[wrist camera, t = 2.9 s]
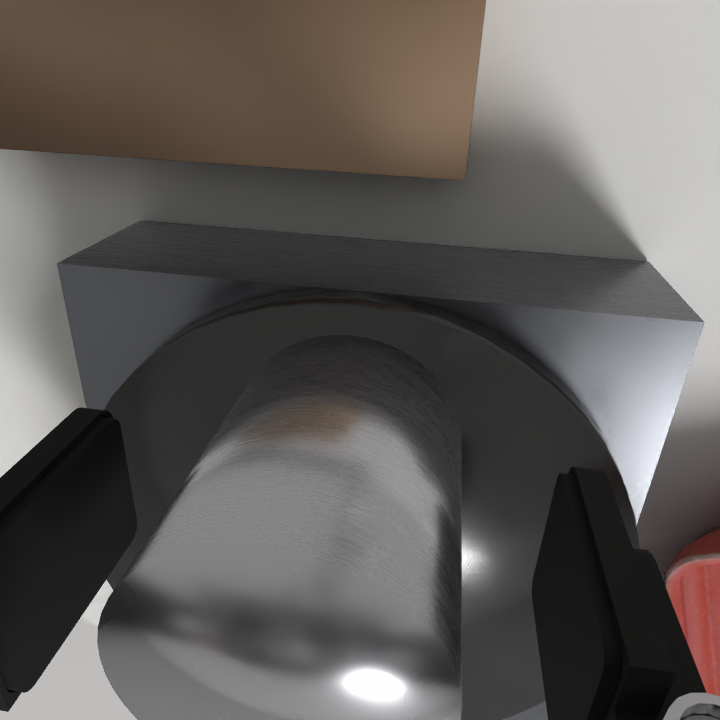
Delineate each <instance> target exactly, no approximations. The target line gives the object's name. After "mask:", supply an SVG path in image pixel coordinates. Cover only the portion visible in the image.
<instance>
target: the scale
mask: <svg viewBox="0 0 720 720" xmlns="http://www.w3.org/2000/svg"><path fill="white" fill-rule="evenodd" d="M57 265H58V270H59V275H60V280H61V285H62V290H63V294H64V299H65V304H66V309H67V314H68V319H69V324H70V329H71V334H72V339H73V344H74V349H75V354H76V359H77V364H78V368H79V373H80V378H81V383H82V388H83V393H84V398H85V403H86V408H90V409H99V410H107V411H109V412H110V413H111V414H112V415H113V419H117V420H118V421H119V422H120V425H121V431H122V436H123V442H124V448H125V454H126V460H127V465H128V471H129V477H130V483H131V488H132V494H133V500H134V506H135V511H136V517H137V530H136V534H135V537H134V539H133V541H132V542H131V544H130V545H129V547H128V548H127V550H126V551H125V553H124V554H123V556H122V557H121V558H120V560H119V561H118V563H117V564H116V566H115V567H114V569H113V570H112V572H111V573H110V575H109V576H108V578H107V581H108V582H109V584H110V586H111V587H112V589H113V590H114V589H115V588H116V586H117V585H118V583H119V581H120V580H121V578H122V577H123V575H124V574H125V572H126V571H127V569H128V568H129V566H130V565H131V563H132V561H133V560H134V558H135V557H136V555H137V554H138V552H139V551H140V549H141V548H142V546H143V545H144V543H145V541H146V540H147V538H148V537H149V535H150V534H151V532H152V531H153V529H154V528H155V526H156V525H157V523H158V521H159V520H160V518H161V517H162V515H163V514H164V512H165V511H166V509H167V508H168V506H169V505H170V503H171V502H172V500H173V498H174V497H175V495H176V494H177V492H178V491H179V489H180V488H181V486H182V485H183V483H184V482H185V480H186V478H187V477H188V475H189V474H190V472H191V471H192V469H193V468H194V466H195V465H196V463H197V462H198V460H199V458H200V457H201V455H202V454H203V452H204V451H205V449H206V448H207V446H208V445H209V443H210V442H211V440H212V438H213V437H214V435H215V434H216V432H217V431H218V429H219V428H220V426H221V425H222V423H223V422H224V420H225V419H226V417H227V415H228V414H229V412H230V411H231V409H232V408H233V406H234V405H235V403H236V402H237V400H238V399H239V397H240V395H241V394H242V392H243V391H244V389H245V388H246V386H247V385H248V383H249V382H250V380H251V379H252V377H253V376H254V374H255V373H256V372H257V370H258V369H259V368H260V367H261V366H262V365H263V364H264V363H265V362H266V361H267V360H268V359H269V358H270V357H272V356H273V355H275V354H276V353H277V352H279V351H280V350H282V349H284V348H286V347H288V346H290V345H292V344H294V343H297V342H300V341H303V340H306V339H310V338H315V337H319V336H329V335H351V336H358V337H364V338H369V339H373V340H376V341H380V342H383V343H385V344H388V345H390V346H393V347H395V348H397V349H399V350H401V351H403V352H405V353H406V354H408V355H410V356H412V357H413V358H414V359H416V360H417V361H418V362H420V363H421V364H423V365H424V366H425V367H426V368H427V369H428V370H429V371H430V372H431V373H432V374H433V375H434V376H435V377H436V378H437V379H438V380H439V382H440V383H441V384H442V385H443V387H444V388H445V390H446V391H447V393H448V395H449V396H450V398H451V400H452V402H453V404H454V407H455V409H456V411H457V414H458V418H459V422H460V428H461V452H462V710H461V720H548V715H547V708H546V700H545V693H544V685H543V678H542V670H541V663H540V655H539V647H538V640H537V632H536V625H535V617H534V610H533V602H532V581H533V576H534V571H535V567H536V563H537V559H538V555H539V551H540V546H541V542H542V538H543V534H544V530H545V526H546V521H547V517H548V513H549V509H550V505H551V501H552V497H553V492H554V488H555V484H556V480H557V477H558V475H559V473H564V474H568V472H569V470H570V468H571V467H581V468H589V469H598V470H604V471H605V472H606V474H607V476H608V479H609V482H610V485H611V488H612V491H613V493H614V496H615V499H616V502H617V505H618V508H619V510H620V513H621V516H622V519H623V522H624V525H625V527H626V530H627V533H628V536H629V539H630V542H631V544H632V547H633V548H634V549H639V543H638V535H637V527H636V526H637V523H638V520H639V517H640V514H641V511H642V508H643V505H644V502H645V499H646V496H647V493H648V490H649V487H650V484H651V481H652V478H653V475H654V472H655V469H656V466H657V463H658V460H659V457H660V454H661V451H662V448H663V445H664V442H665V439H666V436H667V433H668V430H669V427H670V424H671V421H672V418H673V415H674V412H675V409H676V406H677V403H678V400H679V397H680V394H681V391H682V388H683V385H684V382H685V379H686V376H687V373H688V370H689V367H690V364H691V361H692V358H693V355H694V352H695V349H696V346H697V343H698V340H699V337H700V334H701V331H702V328H703V325H704V321H703V320H702V319H701V318H700V317H699V316H698V315H697V314H696V313H695V312H694V311H693V309H692V308H691V307H690V306H689V305H688V304H687V303H686V302H685V301H684V300H683V299H682V297H681V296H680V295H679V294H678V293H677V292H676V291H675V290H674V289H673V288H672V287H671V285H670V284H669V283H668V282H667V281H666V280H665V279H664V278H663V277H662V276H661V275H660V273H659V272H658V271H657V270H656V269H655V268H654V267H653V266H652V265H651V264H650V263H649V262H644V261H632V260H619V259H607V258H595V257H582V256H570V255H558V254H545V253H533V252H521V251H508V250H496V249H484V248H471V247H459V246H447V245H434V244H422V243H409V242H397V241H385V240H372V239H360V238H348V237H335V236H323V235H311V234H298V233H286V232H274V231H261V230H249V229H237V228H224V227H212V226H199V225H187V224H175V223H162V222H150V221H139V222H137V223H135V224H133V225H131V226H129V227H127V228H125V229H123V230H121V231H119V232H117V233H116V234H114V235H112V236H110V237H108V238H106V239H104V240H102V241H100V242H98V243H96V244H94V245H92V246H90V247H88V248H86V249H84V250H82V251H80V252H78V253H76V254H74V255H72V256H70V257H69V258H67V259H65V260H63V261H61V262H59V263H57Z"/></svg>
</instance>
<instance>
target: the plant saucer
mask: <svg viewBox="0 0 720 720" xmlns="http://www.w3.org/2000/svg"><path fill="white" fill-rule="evenodd" d="M665 587H666V589H667V592H668V594H669V597H670V600H671V602H672V605H673V607H674V610H675V612H676V615H677V618H678V620H679V623H680V625H681V628H682V630H683V633H684V636H685V638H686V641H687V643H688V646H689V648H690V651H691V654H692V656H693V659H694V661H695V664H696V666H697V669H698V672H699V674H700V677H701V679H702V682H703V684H704V687H705V690H706V692H707V693H709V694H713V695H716V696H720V529H718V530H714V531H712V532H710V533H707V534H705V535H704V536H702V537H700V538H698V539H697V540H695V541H693V542H692V543H690V544H689V545H687V546H686V547H685V548H684V549H683V550H682V551H681V552H680V553H679V554H678V555H677V556H676V558H675V559H674V561H673V563H672V564H671V566H670V567H669V569H668V572H667V574H666V577H665Z"/></svg>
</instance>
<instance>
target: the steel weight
mask: <svg viewBox="0 0 720 720" xmlns="http://www.w3.org/2000/svg"><path fill="white" fill-rule="evenodd" d="M98 648H99V655H100V660H101V662H102V665H103V668H104V671H105V674H106V676H107V678H108V680H109V682H110V684H111V686H112V687H113V689H114V691H115V692H116V694H117V695H118V697H119V698H120V699H121V701H122V702H123V704H124V705H125V706H126V707H127V708H128V709H129V711H130V712H131V713H132V714H133V715H134V716H135V717H136V718H137V719H138V720H461V710H462V452H461V428H460V422H459V418H458V414H457V411H456V409H455V407H454V404H453V402H452V400H451V398H450V396H449V395H448V393H447V391H446V390H445V388H444V387H443V385H442V384H441V383H440V382H439V380H438V379H437V378H436V377H435V376H434V375H433V374H432V373H431V372H430V371H429V370H428V369H427V368H426V367H425V366H424V365H423V364H421V363H420V362H418V361H417V360H416V359H414V358H413V357H412V356H410V355H408V354H406V353H405V352H403V351H401V350H399V349H397V348H395V347H393V346H390V345H388V344H385V343H383V342H380V341H376V340H373V339H369V338H364V337H358V336H351V335H329V336H319V337H315V338H310V339H306V340H303V341H300V342H297V343H294V344H292V345H290V346H288V347H286V348H284V349H282V350H280V351H279V352H277V353H276V354H275V355H273V356H272V357H270V358H269V359H268V360H267V361H266V362H265V363H264V364H263V365H262V366H261V367H260V368H259V369H258V370H257V372H256V373H255V374H254V376H253V377H252V379H251V380H250V382H249V383H248V385H247V386H246V388H245V389H244V391H243V392H242V394H241V395H240V397H239V399H238V400H237V402H236V403H235V405H234V406H233V408H232V409H231V411H230V412H229V414H228V415H227V417H226V419H225V420H224V422H223V423H222V425H221V426H220V428H219V429H218V431H217V432H216V434H215V435H214V437H213V438H212V440H211V442H210V443H209V445H208V446H207V448H206V449H205V451H204V452H203V454H202V455H201V457H200V458H199V460H198V462H197V463H196V465H195V466H194V468H193V469H192V471H191V472H190V474H189V475H188V477H187V478H186V480H185V482H184V483H183V485H182V486H181V488H180V489H179V491H178V492H177V494H176V495H175V497H174V498H173V500H172V502H171V503H170V505H169V506H168V508H167V509H166V511H165V512H164V514H163V515H162V517H161V518H160V520H159V521H158V523H157V525H156V526H155V528H154V529H153V531H152V532H151V534H150V535H149V537H148V538H147V540H146V541H145V543H144V545H143V546H142V548H141V549H140V551H139V552H138V554H137V555H136V557H135V558H134V560H133V561H132V563H131V565H130V566H129V568H128V569H127V571H126V572H125V574H124V575H123V577H122V578H121V580H120V581H119V583H118V585H117V586H116V588H115V589H114V591H113V592H112V594H111V595H110V597H109V598H108V600H107V602H106V604H105V607H104V609H103V611H102V613H101V617H100V621H99V625H98Z"/></svg>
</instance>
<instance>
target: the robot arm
mask: <svg viewBox="0 0 720 720" xmlns="http://www.w3.org/2000/svg"><path fill="white" fill-rule="evenodd" d="M136 530H137V517H136V511H135V506H134V500H133V494H132V488H131V483H130V477H129V471H128V465H127V460H126V454H125V448H124V442H123V436H122V431H121V425H120V422H119V421H118V420H117V419H113V415H112V414H111V413H110V412H109V411H107V410H99V409H90V408H77V409H76V410H74V411H73V412H72V413H71V414H70V415H69V416H68V417H67V418H65V419H64V420H63V421H62V422H61V423H60V424H59V425H58V426H57V427H56V428H54V429H53V430H52V431H51V432H50V433H49V434H48V435H47V436H46V437H45V438H43V439H42V440H41V441H40V442H39V443H38V444H37V445H36V446H35V447H34V448H33V449H31V450H30V451H29V452H28V453H27V454H26V455H25V456H24V457H23V458H22V459H20V460H19V461H18V462H17V463H16V464H15V465H14V466H13V467H12V468H11V469H10V470H8V471H7V472H6V473H5V474H4V475H3V476H2V477H1V478H0V710H2V711H7V712H8V711H9V710H10V708H11V707H12V705H13V704H14V703H15V701H16V700H17V698H18V697H19V695H20V694H21V692H27V691H29V690H30V689H31V688H32V687H33V686H34V685H35V683H36V682H37V680H38V679H39V678H40V676H41V675H42V673H43V672H44V670H45V669H46V667H47V666H48V664H49V663H50V662H51V660H52V658H53V657H54V656H55V654H56V653H57V651H58V650H59V648H60V647H61V645H62V644H63V642H64V641H65V639H66V638H67V637H68V635H69V634H70V632H71V631H72V629H73V628H74V626H75V625H76V623H77V622H78V620H79V619H80V617H81V616H82V614H83V613H84V611H85V610H86V609H87V607H88V606H89V604H90V603H91V601H92V600H93V598H94V597H95V595H96V594H97V592H98V591H99V589H100V588H101V586H102V585H103V584H104V582H105V581H106V579H107V578H108V576H109V575H110V573H111V572H112V570H113V569H114V567H115V566H116V564H117V563H118V561H119V560H120V558H121V557H122V556H123V554H124V553H125V551H126V550H127V548H128V547H129V545H130V544H131V542H132V541H133V539H134V537H135V534H136ZM532 602H533V610H534V617H535V625H536V632H537V640H538V647H539V655H540V663H541V670H542V678H543V685H544V693H545V700H546V708H547V715H548V720H720V696H716V695H713V694H709V693H707V692H706V690H705V687H704V684H703V682H702V679H701V677H700V674H699V672H698V669H697V666H696V664H695V661H694V659H693V656H692V654H691V651H690V648H689V646H688V643H687V641H686V638H685V636H684V633H683V630H682V628H681V625H680V623H679V620H678V618H677V615H676V612H675V610H674V607H673V605H672V602H671V600H670V597H669V594H668V592H667V589H666V587H665V584H664V582H663V579H662V576H661V574H660V571H659V569H658V566H657V563H656V561H655V559H654V557H653V555H652V554H651V553H650V552H649V551H648V550H642V549H634V548H633V547H632V544H631V542H630V539H629V536H628V533H627V530H626V527H625V525H624V522H623V519H622V516H621V513H620V510H619V508H618V505H617V502H616V499H615V496H614V493H613V491H612V488H611V485H610V482H609V479H608V476H607V474H606V472H605V471H604V470H598V469H589V468H581V467H571V468H570V470H569V472H568V474H564V473H559V475H558V477H557V480H556V484H555V488H554V492H553V497H552V501H551V505H550V509H549V513H548V517H547V521H546V526H545V530H544V534H543V538H542V542H541V546H540V551H539V555H538V559H537V563H536V567H535V571H534V576H533V581H532Z"/></svg>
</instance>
